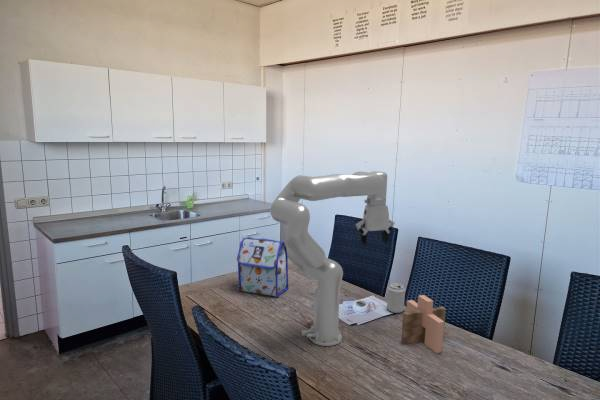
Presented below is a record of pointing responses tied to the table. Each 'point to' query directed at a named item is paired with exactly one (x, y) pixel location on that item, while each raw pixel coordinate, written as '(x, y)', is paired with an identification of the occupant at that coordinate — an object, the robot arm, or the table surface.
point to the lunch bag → (262, 266)
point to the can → (396, 298)
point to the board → (417, 325)
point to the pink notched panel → (429, 322)
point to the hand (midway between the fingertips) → (374, 242)
